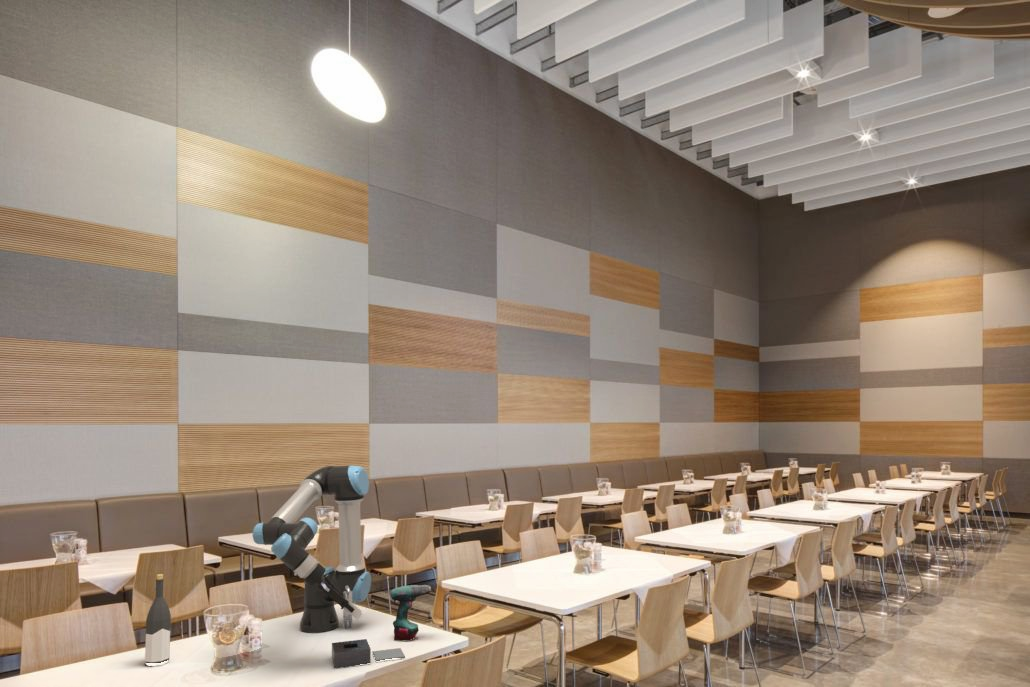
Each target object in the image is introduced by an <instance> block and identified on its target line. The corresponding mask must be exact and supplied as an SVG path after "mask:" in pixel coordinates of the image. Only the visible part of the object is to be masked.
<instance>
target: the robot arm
mask: <svg viewBox="0 0 1030 687" xmlns="http://www.w3.org/2000/svg"><path fill="white" fill-rule="evenodd" d="M369 479H370V478H369V475H368V472H367V470H366V469H365V468H364V467H362V466H360V465H327V466H323V467H320V468H319V469H316V470H315V471H312V472H311V473H310V474H309V475H307V476H306V477H305V478H303V480H302V481H300V484H299V488H298V489H297V490H296V491H295V492H294V493H293V494H292V495H291V497H290V498H289V499H288V500H287V501H286V502H285V503H284V504H283V505H282V506H281V507H280V508H279V509H278V510H277V511H276V512H275V513H274V515H272V517H271V518H270V519H269V520H268V521H267V522H259V523H257V524H256V525H255V526H254V527H253V529H252V539H253V542H254V543H255V544H257V545H264V546H271V547H270V550H271V552H272V553H273V554H274V556H276V558H277V559H278V560H280V561H281V562H282V563H283V564H284V565H285V566H287V567H288V568H289V569H290V570H291V571H293V573H294V574H293V575H294V576H298V577H299V578H300V579H303V582H304V610H303V612H302V617H301V620H300V623H299V630H300V629H301V630H302V631H301V630H300V631H301V632H303V631H306V632H305V633H311V632H315V633H324V632H323V631H325V632H328V630H329V631H333V630H335V629H337V628H338V627H339V624H340V623H339V622H340V621H339V617H338V614H337V610H336V607H335V603H336V604H338V605H339V606H340V609H341V610H343V608H344V609H345V610H346V611H347V612H349V613H350V614H351V615H352V618H354V619H355V620H356V621H358V620H359V619H360V618H361V616H362V615H363V612H362V610H361V609H360V608H359V607H358V606H357V605H356V604H354V603H362V602H363V601H365V600H366V598H367V597H368V595H369V592H370V590H371V586H372V576H371V573H370V572H369V571H366V565H365V564H364V563H363V562H362V537H361V536H362V535H361V534H362V533H361V532H362V530H361V529H362V528H361V526H362V524H361V522H362V520H361V502H362V501H364V500H365V495H367V493H368V492H369V488H370V480H369ZM328 495H329V496H334V501H335V503H337V504H338V545H339V548H338V550H339V564H338V565H337V567H334V566H323V565H322V564H321V563H320V562H318V561H317V559H316V558H315V557H314V556H312V555H311V554H310V552H308V551H307V550H306V549H307V547H308V546H309V545H310V543H311V542H312V540H313V539H314V538H315V536H316V535H317V532H318V530H319V527H318V524H317V522H316V520H314V519H312V518H311V517H302V518H301V519H300V520H299V521H298V522H297V520H298V519H299V518H300V517H301V516H302V515H303V514H304V512H305V511H306V510H307V509H308V508H309V507H310V506H311V504H312V503H313V502H314V501H318V500H319V499H320V498H321V497H324V496H328ZM295 522H297V523H295ZM345 586H349V588H350V591H352V603H350V602H348V600H346V599H345V598H344V597H343V592H344V591H346V590H345ZM332 629H333V630H332Z"/></svg>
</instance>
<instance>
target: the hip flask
mask: <svg viewBox="0 0 1030 687" xmlns="http://www.w3.org/2000/svg"><path fill="white" fill-rule="evenodd" d="M345 590H346V591H344V592H343V597H344V598H345V599H346V600H348V602H350V603H352V591H350V588H349V586H345ZM342 612H343V613H342V615H343V616H342V618H343V620H342V621H343V622H342V629H344V630H346V629H352V628H353V616H352V615H351V614H350V613H349V612H347V611H346V610H345V609H344V608H343V609H342Z"/></svg>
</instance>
